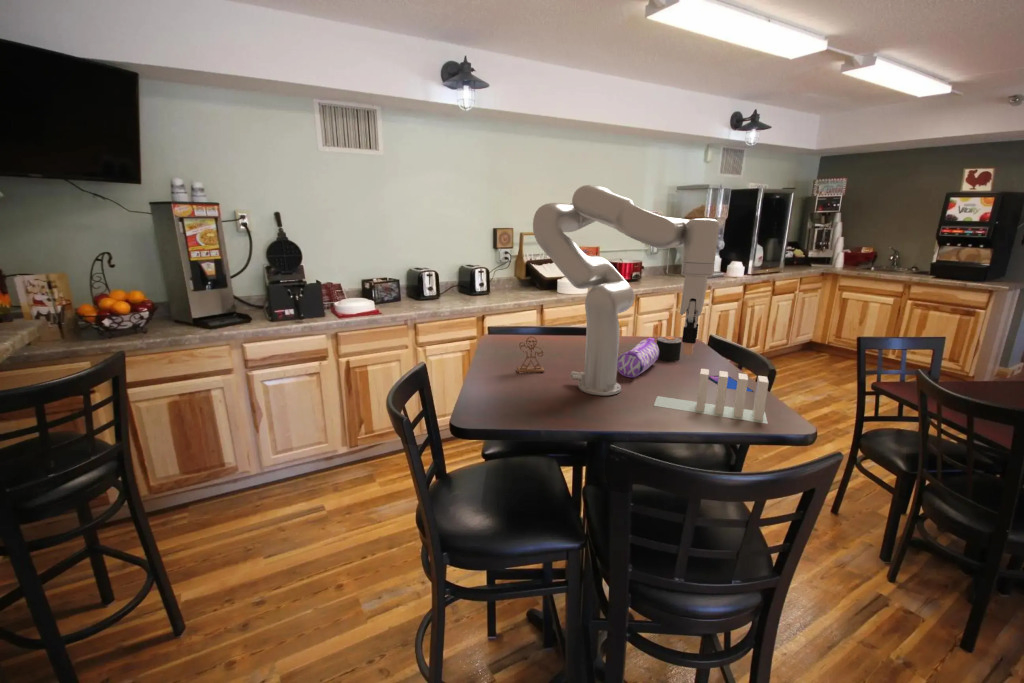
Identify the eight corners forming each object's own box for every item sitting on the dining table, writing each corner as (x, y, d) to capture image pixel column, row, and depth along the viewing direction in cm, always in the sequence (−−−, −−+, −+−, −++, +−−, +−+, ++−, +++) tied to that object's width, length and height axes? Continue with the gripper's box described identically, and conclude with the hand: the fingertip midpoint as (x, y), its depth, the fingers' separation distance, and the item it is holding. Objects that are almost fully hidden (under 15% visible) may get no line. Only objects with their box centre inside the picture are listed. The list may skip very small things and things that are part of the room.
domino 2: (695, 410, 121) (700, 373, 119) (696, 403, 126) (701, 368, 123) (704, 411, 121) (708, 374, 118) (704, 405, 125) (709, 369, 123)
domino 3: (714, 413, 120) (719, 376, 117) (714, 406, 124) (719, 370, 122) (723, 414, 119) (728, 377, 116) (723, 407, 123) (727, 371, 121)
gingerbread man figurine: (543, 369, 158) (544, 335, 155) (544, 373, 154) (545, 338, 151) (517, 369, 157) (517, 335, 154) (518, 373, 154) (518, 338, 151)
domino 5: (753, 419, 116) (759, 381, 114) (752, 412, 120) (758, 375, 118) (762, 420, 115) (768, 382, 113) (761, 413, 120) (766, 376, 117)
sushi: (651, 356, 176) (653, 336, 174) (668, 354, 179) (670, 334, 177) (666, 362, 169) (668, 340, 167) (683, 359, 172) (686, 338, 170)
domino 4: (733, 416, 118) (739, 378, 115) (733, 409, 122) (738, 373, 120) (742, 417, 117) (748, 379, 115) (741, 410, 121) (747, 374, 119)
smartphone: (732, 392, 138) (706, 375, 152) (731, 395, 138) (706, 378, 152) (755, 391, 138) (727, 375, 153) (754, 394, 139) (727, 377, 153)
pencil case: (641, 381, 148) (644, 352, 145) (613, 376, 152) (615, 348, 150) (659, 364, 166) (661, 339, 164) (633, 360, 171) (635, 335, 168)
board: (653, 409, 124) (653, 405, 124) (657, 400, 131) (657, 396, 131) (767, 428, 114) (767, 423, 114) (764, 416, 121) (765, 412, 121)
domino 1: (683, 354, 119) (687, 316, 117) (685, 349, 124) (689, 312, 121) (691, 355, 119) (696, 316, 116) (693, 350, 123) (697, 313, 121)
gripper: (684, 266, 125) (677, 332, 130) (678, 271, 110) (670, 346, 114) (714, 267, 122) (706, 335, 127) (712, 273, 107) (703, 349, 111)
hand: (689, 339), depth 120 cm, fingers closed on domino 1, 4 cm apart
